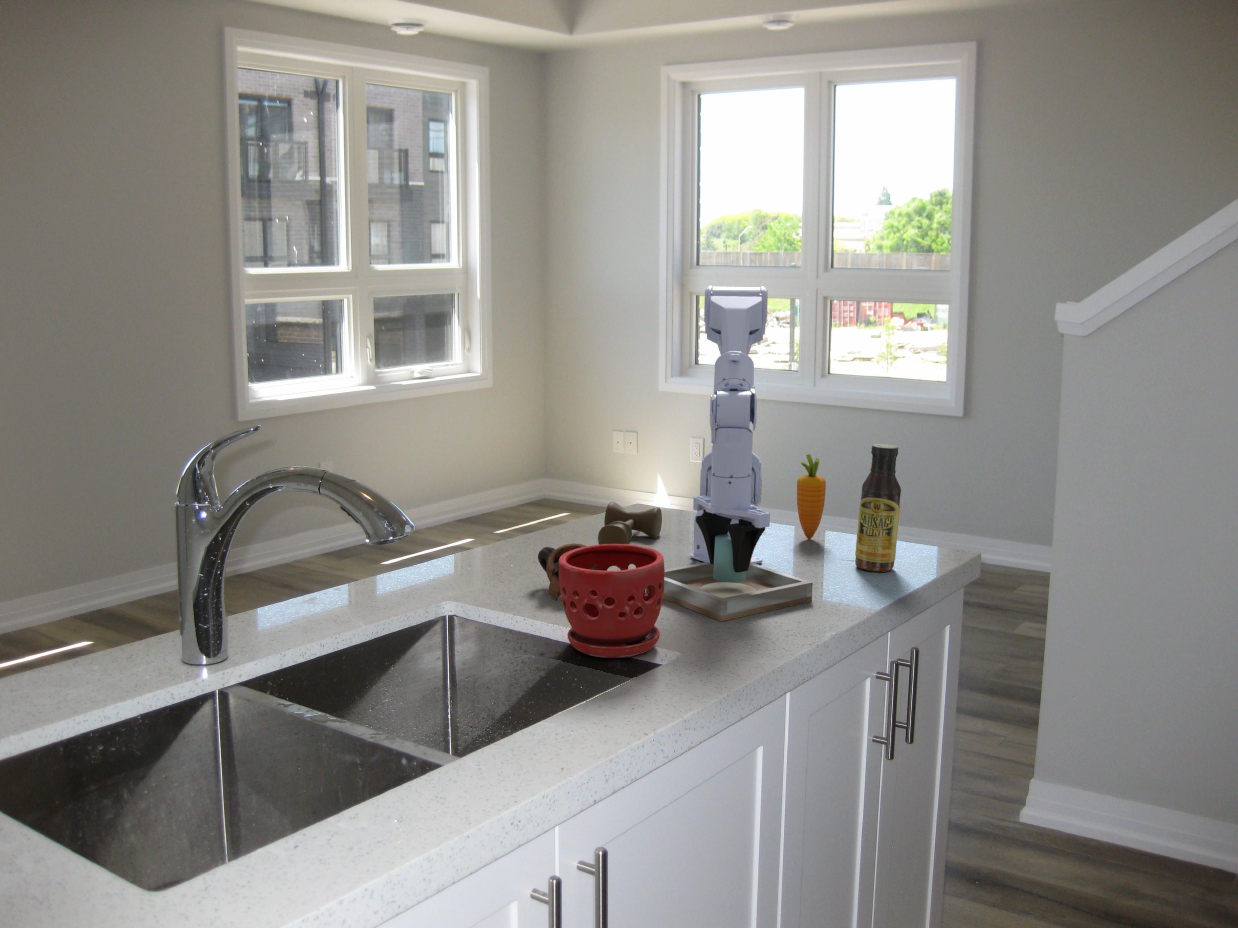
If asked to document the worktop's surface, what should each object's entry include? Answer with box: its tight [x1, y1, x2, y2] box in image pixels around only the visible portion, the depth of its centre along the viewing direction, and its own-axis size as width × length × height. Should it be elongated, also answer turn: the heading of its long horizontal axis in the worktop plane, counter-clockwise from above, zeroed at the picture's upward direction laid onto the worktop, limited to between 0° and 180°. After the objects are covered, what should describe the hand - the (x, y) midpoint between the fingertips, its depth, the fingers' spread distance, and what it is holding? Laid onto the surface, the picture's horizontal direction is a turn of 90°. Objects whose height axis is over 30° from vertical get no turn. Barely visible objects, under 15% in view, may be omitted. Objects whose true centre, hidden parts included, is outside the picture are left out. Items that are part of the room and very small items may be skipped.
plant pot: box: [558, 543, 666, 659], centre depth 143 cm, size 13×13×12 cm
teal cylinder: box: [713, 534, 747, 583], centre depth 166 cm, size 5×5×6 cm
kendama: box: [597, 501, 663, 545], centre depth 200 cm, size 6×10×20 cm
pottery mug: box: [537, 543, 598, 601], centre depth 168 cm, size 12×10×8 cm
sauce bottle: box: [854, 443, 902, 573], centre depth 182 cm, size 7×6×20 cm
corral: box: [645, 562, 813, 622], centre depth 167 cm, size 17×17×3 cm
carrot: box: [796, 453, 827, 540], centre depth 201 cm, size 5×5×15 cm
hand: (728, 567), depth 166 cm, fingers closed on teal cylinder, 5 cm apart
